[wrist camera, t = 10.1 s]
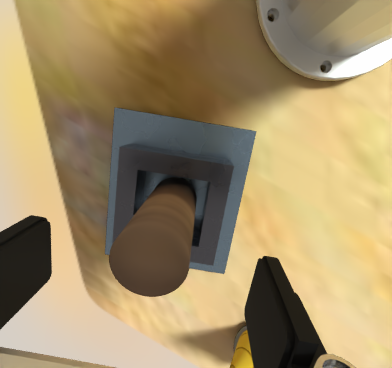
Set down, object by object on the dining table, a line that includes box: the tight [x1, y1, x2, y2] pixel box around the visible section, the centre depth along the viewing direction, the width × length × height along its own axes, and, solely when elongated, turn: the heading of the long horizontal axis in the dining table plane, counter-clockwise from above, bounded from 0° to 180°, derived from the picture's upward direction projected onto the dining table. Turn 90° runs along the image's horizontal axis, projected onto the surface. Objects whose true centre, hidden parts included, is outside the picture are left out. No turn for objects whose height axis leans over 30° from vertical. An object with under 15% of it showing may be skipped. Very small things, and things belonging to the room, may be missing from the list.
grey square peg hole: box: [105, 108, 256, 274], centre depth 20 cm, size 14×12×4 cm
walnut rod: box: [109, 177, 197, 297], centre depth 16 cm, size 4×4×10 cm
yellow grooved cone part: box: [230, 326, 254, 368], centre depth 22 cm, size 5×5×10 cm
